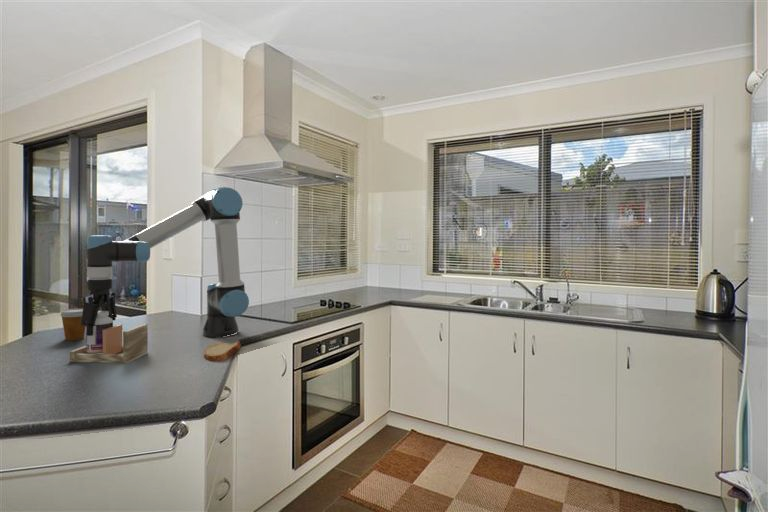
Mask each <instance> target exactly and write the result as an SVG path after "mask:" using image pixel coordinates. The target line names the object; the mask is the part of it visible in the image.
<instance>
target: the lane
mask: <svg viewBox="0 0 768 512" xmlns="http://www.w3.org/2000/svg"><path fill="white" fill-rule="evenodd" d="M148 325H149V324H148V323H143V324H139V325H138V326H134V327H131V328H129V329H126V330H124V331H123V330H122V352H119V353H117V354H103V353H99V354H91V353H88V352H87V351H86V345H84V346H80V347H78V348H75V349H73V350H70V351H69V362H71V363H74V362H76V363H109V364H110V363H111V364H113V363H114V364H115V363H117V364H118V363H119V364H128V363H131V362H133V361H135V360H136V359H139V358H140V357H142V356H145V355H147V354H148V353H149V352H148V348H149V347H148V343H149V341H148V340H149V339H148V337H149V336H148V333H149V332H148V329H149V328H148Z"/></svg>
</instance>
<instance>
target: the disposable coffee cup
mask: <svg viewBox="0 0 768 512" xmlns="http://www.w3.org/2000/svg"><path fill="white" fill-rule="evenodd" d="M59 314H60V317H61V320H62V321H61V322H62V326H63V333H64V338H65V339H64V340H65V341H79V340H82V339H84V338H85V335H86V326H83V325H81V323H82V315H83V308H71V309H64V310H61V312H60V313H59Z"/></svg>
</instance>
